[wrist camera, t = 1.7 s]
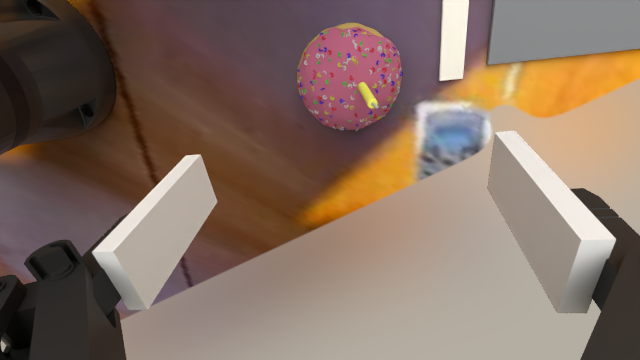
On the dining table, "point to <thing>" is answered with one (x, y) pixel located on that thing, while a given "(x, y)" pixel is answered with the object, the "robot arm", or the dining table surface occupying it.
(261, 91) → the dining table surface
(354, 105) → the cupcake
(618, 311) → the robot arm
